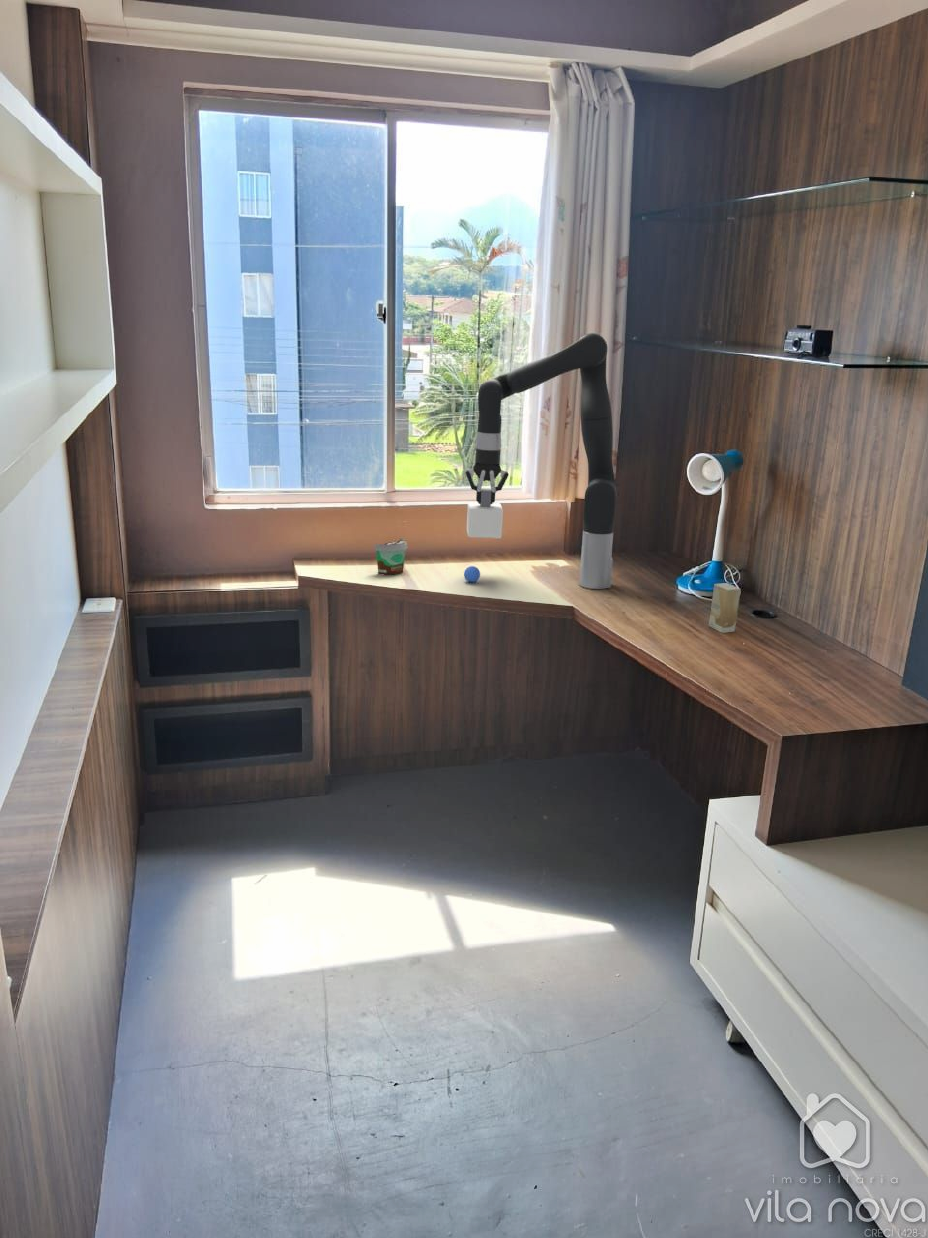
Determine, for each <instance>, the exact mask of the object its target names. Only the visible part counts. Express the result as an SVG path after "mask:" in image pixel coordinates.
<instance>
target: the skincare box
mask: <svg viewBox="0 0 928 1238" xmlns="http://www.w3.org/2000/svg"><path fill="white" fill-rule="evenodd" d="M713 585H714V586H713V592H712V598H711V606H710V614H709V620H708V627H710V628H712V629H714V630H716V631H717V632H719V633H721V634H725V633H734V632H735V630H736V624H737V617H738V611H739V610H738V609H739V605H740V599H741V598H740V596H741V590H742V589H741V588H739V587H737V586H735V585H732V584H730V583H727V582H723V583H722V582H721V583H720V582H719V583H714V584H713Z"/></svg>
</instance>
